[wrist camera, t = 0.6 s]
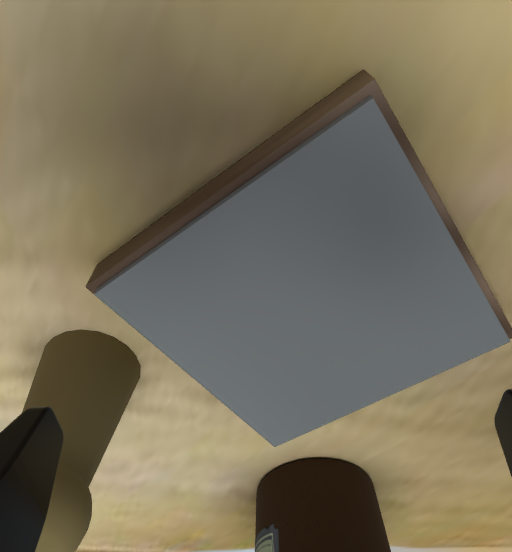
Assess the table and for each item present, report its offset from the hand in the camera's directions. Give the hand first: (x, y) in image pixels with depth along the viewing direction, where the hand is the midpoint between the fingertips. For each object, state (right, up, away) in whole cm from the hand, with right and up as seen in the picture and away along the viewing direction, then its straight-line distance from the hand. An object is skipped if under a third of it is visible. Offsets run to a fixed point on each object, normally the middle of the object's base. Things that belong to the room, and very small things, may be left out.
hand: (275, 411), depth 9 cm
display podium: (+2, +2, +16) cm, 16 cm away
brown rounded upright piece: (-11, -3, +19) cm, 22 cm away
